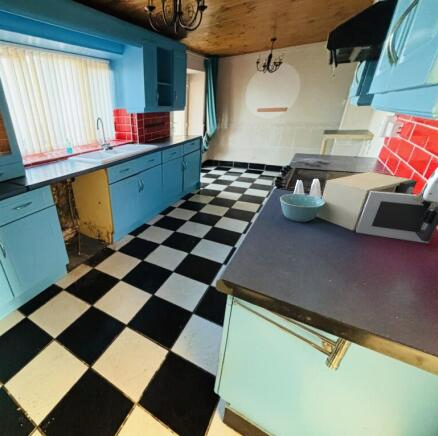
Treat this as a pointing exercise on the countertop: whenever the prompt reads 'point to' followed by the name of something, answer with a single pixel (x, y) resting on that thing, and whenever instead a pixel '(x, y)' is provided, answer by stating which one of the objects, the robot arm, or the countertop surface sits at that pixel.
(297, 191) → the shaker set
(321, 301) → the countertop surface
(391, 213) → the microwave door
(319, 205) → the bowl
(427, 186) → the robot arm
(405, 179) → the microwave
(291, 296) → the countertop surface
